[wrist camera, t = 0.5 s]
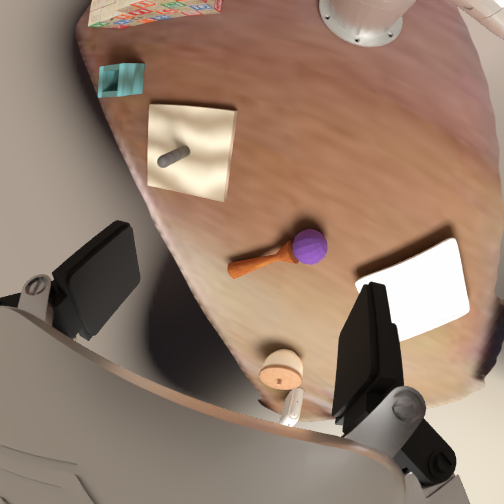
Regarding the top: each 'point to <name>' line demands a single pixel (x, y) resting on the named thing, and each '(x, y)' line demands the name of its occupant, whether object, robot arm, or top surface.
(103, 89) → the open box
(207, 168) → the cream peg stand
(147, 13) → the stack of blocks
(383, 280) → the salad plate
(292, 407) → the photo printer
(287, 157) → the top surface
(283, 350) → the lidded jar
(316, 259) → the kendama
